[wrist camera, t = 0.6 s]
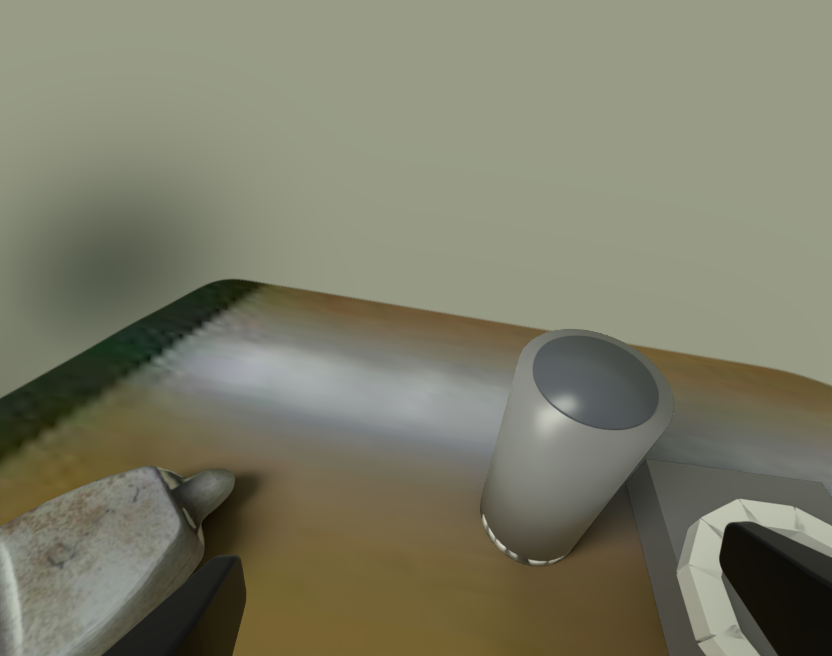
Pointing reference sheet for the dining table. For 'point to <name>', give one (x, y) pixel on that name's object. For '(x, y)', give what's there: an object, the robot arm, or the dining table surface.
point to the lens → (569, 440)
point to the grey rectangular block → (715, 546)
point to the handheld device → (101, 559)
